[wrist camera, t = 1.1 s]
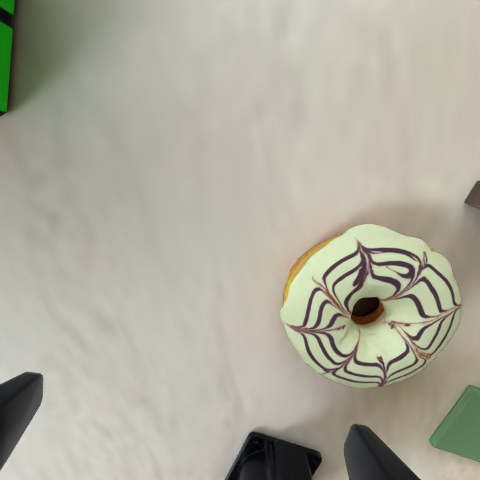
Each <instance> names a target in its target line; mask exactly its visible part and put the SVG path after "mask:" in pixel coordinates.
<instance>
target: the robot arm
mask: <svg viewBox="0 0 480 480" xmlns="http://www.w3.org/2000/svg"><path fill="white" fill-rule="evenodd" d="M42 397H43V375H42V374H40V373H34V372H25V373H23V374H20V375H18V376H16V377H14V378H12V379H10V380H8V381H6V382H4V383H2V384H0V470H1V469H2V467H3V466H4V464H5V463H6V461H7V459H8V458H9V456H10V455H11V453H12V451H13V450H14V448H15V446H16V445H17V443H18V441H19V440H20V438H21V436H22V435H23V433H24V431H25V430H26V428H27V426H28V425H29V423H30V421H31V420H32V418H33V416H34V415H35V413H36V412H37V410H38V408H39V406H40V404H41V402H42ZM344 456H345V461H346V466H347V471H348V476H349V480H420V479H419V478H418V477H417V476H416V475H415V474H414V473H413V472H412V471H411V470H410V469H409V467H408V466H407V465H406V464H405V463H404V462H403V461H402V460H401V459H400V458H399V457H398V456H397V455H396V454H395V453H394V452H393V451H392V450H391V449H390V448H389V447H388V446H387V445H386V444H385V443H384V442H383V441H382V440H381V439H380V438H379V437H378V436H377V435H376V434H375V433H374V432H373V431H372V430H371V429H370V428H369V427H367V426H365V425H359V424H353V425H352V426H351V428H350V431H349V433H348V436H347V439H346V441H345V444H344ZM321 461H322V458H321V454H320V453H319V452H318V451H315V450H312V449H309V448H305V447H302V446H299V445H296V444H293V443H289V442H286V441H283V440H280V439H277V438H273V437H270V436H267V435H264V434H260V433H257V432H251V433H250V434H249V435H248V437H247V439H246V441H245V443H244V444H243V446H242V448H241V450H240V452H239V454H238V456H237V458H236V460H235V462H234V463H233V465H232V467H231V469H230V471H229V473H228V475H227V477H226V479H225V480H312V476H313V474H314V473H315V471H316V470H317V468H318V466H319V465H320V463H321Z"/></svg>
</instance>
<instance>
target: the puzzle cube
mask: <svg viewBox="0 0 480 480" xmlns="http://www.w3.org/2000/svg"><path fill="white" fill-rule="evenodd" d="M14 7H15V0H0V116H2V115H3V114H5V113H6V112H7V102H8V89H9V76H10V62H11V49H12V36H13V28H12V27H11V25H10V23H9V22H8V20H9V19H10V18H11V17H13V16H14Z"/></svg>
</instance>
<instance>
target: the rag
mask: <svg viewBox="0 0 480 480" xmlns="http://www.w3.org/2000/svg"><path fill="white" fill-rule="evenodd" d="M429 441H430V442H431V444H432V445H433V446H434V447H436V448H439V449H442V450H445V451H448V452H451V453H454V454H457V455H460V456H463V457H466V458H469V459H472V460H475V461H478V462H480V389H479V388H476V387H473V386H471V385H470V386H469V387H468V388H467V390H466V391H465V392H464V394H463V395H462V396H461V398H460V399H459V401H458V402H457V403H456V405H455V406H454V407H453V409H452V410H451V411H450V413H449V414H448V416H447V417H446V418H445V420H444V421H443V422H442V424H441V425H440V426H439V428H438V429H437V430H436V432H435V433H434V435H433V436H432V437H431V439H430V440H429Z"/></svg>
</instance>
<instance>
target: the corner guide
mask: <svg viewBox="0 0 480 480" xmlns="http://www.w3.org/2000/svg"><path fill="white" fill-rule="evenodd" d="M465 203H467V204H469V205H471V206H473V207H476V208H478V209H480V181H477V182H476V184H475V186H474V187H473V189H472V190H471V192H470V194H469V195H468V197H467V199H466V200H465Z"/></svg>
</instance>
